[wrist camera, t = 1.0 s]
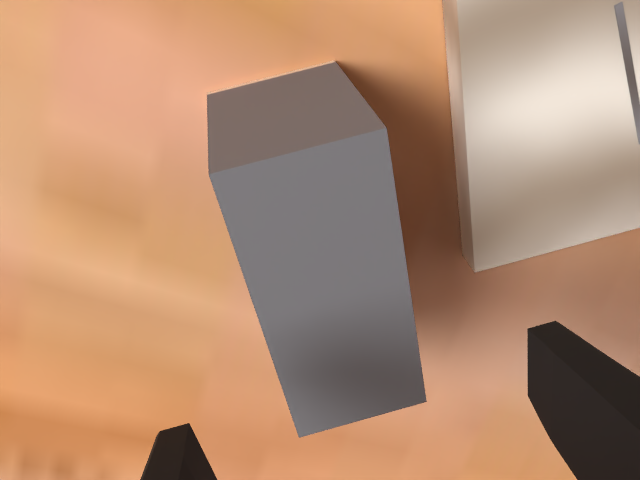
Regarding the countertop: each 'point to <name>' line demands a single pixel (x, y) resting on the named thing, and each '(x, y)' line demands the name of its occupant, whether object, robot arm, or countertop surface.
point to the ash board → (543, 123)
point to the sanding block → (318, 242)
